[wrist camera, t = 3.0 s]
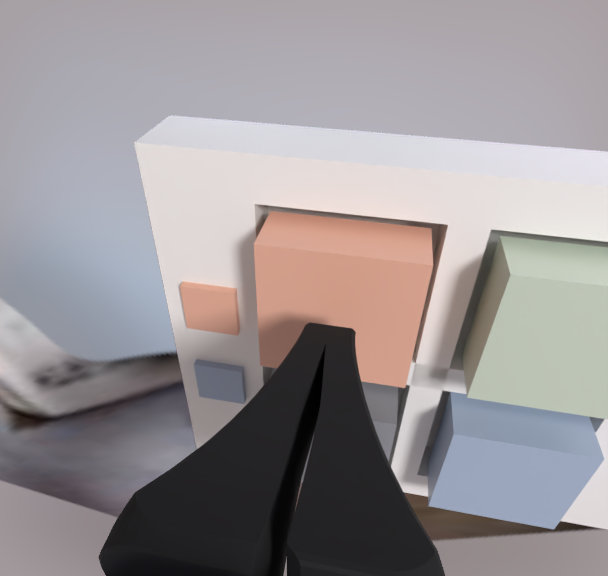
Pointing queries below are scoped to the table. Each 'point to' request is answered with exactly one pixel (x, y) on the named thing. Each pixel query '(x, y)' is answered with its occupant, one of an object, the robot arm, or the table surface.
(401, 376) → the key terracotta
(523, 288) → the key sage
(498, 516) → the key slate
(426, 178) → the keypad
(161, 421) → the table surface
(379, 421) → the key charcoal
